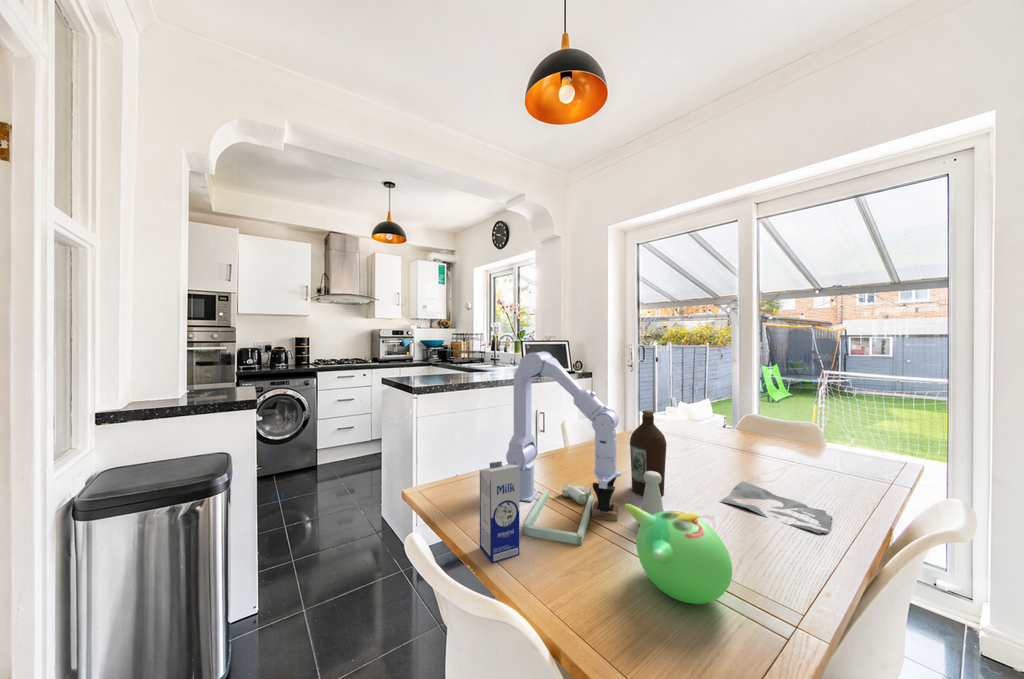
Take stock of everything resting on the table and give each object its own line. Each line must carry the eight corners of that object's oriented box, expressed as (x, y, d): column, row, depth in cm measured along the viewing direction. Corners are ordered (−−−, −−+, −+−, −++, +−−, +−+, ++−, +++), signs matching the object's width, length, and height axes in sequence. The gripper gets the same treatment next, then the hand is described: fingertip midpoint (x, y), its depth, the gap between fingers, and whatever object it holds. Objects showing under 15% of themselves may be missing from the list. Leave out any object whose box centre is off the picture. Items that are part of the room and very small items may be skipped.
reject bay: (522, 534, 93) (522, 526, 93) (545, 495, 115) (545, 489, 115) (581, 545, 88) (581, 536, 88) (593, 502, 110) (593, 495, 110)
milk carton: (491, 563, 81) (490, 470, 81) (478, 547, 87) (478, 461, 87) (520, 554, 84) (520, 465, 84) (506, 540, 90) (506, 456, 90)
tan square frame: (592, 517, 102) (592, 510, 102) (594, 506, 108) (594, 500, 108) (616, 521, 100) (616, 514, 100) (618, 510, 106) (618, 503, 106)
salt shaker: (664, 519, 101) (664, 470, 100) (665, 529, 95) (665, 478, 95) (640, 515, 102) (640, 467, 102) (640, 525, 97) (640, 475, 97)
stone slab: (841, 522, 101) (842, 514, 101) (824, 544, 92) (825, 535, 91) (741, 487, 121) (742, 480, 120) (719, 502, 111) (719, 495, 111)
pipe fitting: (588, 508, 108) (590, 496, 115) (588, 495, 108) (590, 484, 114) (560, 504, 111) (564, 493, 117) (560, 491, 110) (564, 481, 117)
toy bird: (753, 622, 65) (754, 536, 64) (657, 628, 63) (657, 541, 63) (694, 559, 83) (694, 492, 82) (618, 563, 81) (618, 495, 81)
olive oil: (648, 482, 125) (649, 406, 125) (674, 495, 115) (674, 413, 115) (622, 488, 121) (622, 409, 120) (646, 501, 111) (646, 416, 111)
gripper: (619, 465, 95) (619, 519, 95) (622, 448, 109) (622, 496, 109) (590, 462, 97) (590, 515, 98) (597, 446, 111) (597, 492, 111)
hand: (605, 504), depth 104 cm, fingers open, 7 cm apart
